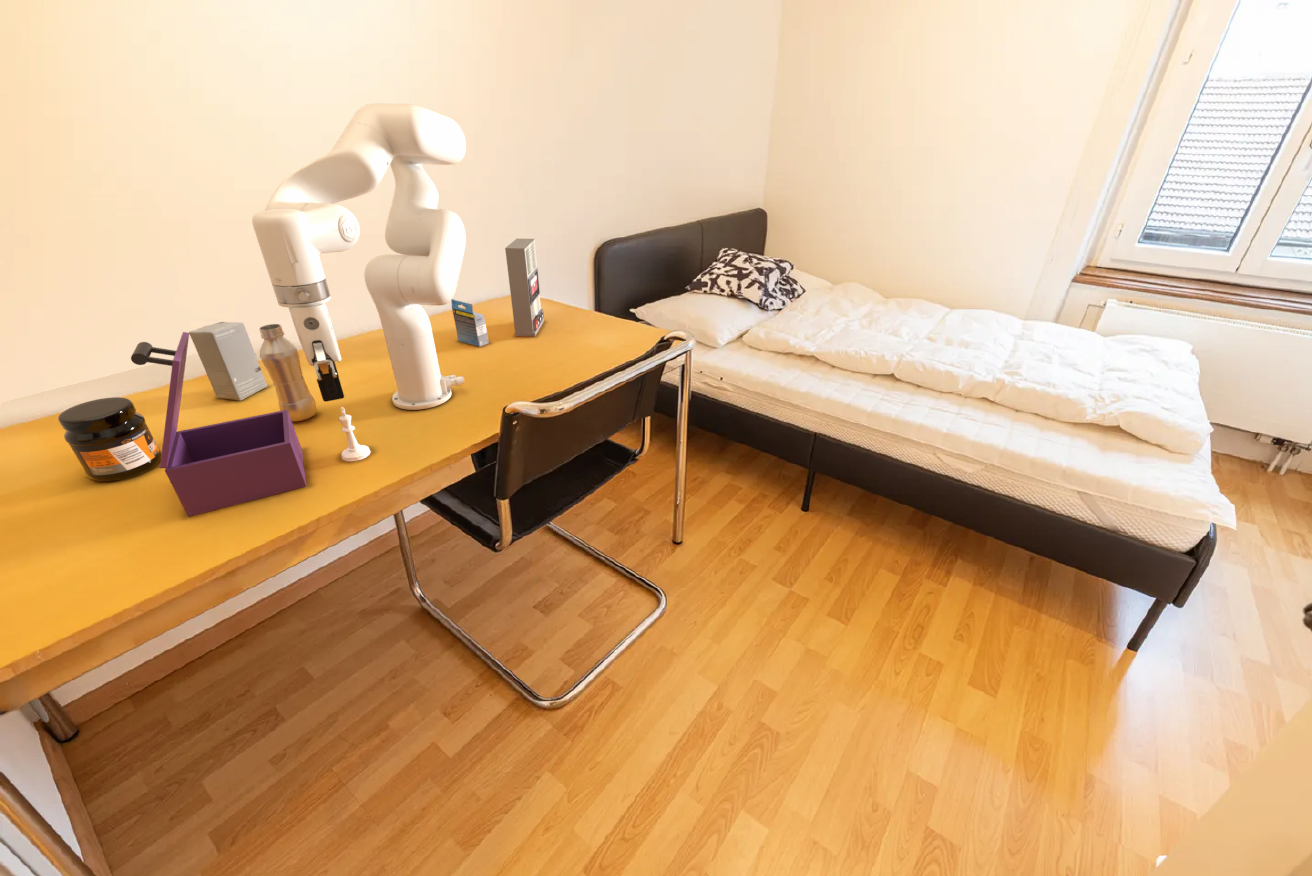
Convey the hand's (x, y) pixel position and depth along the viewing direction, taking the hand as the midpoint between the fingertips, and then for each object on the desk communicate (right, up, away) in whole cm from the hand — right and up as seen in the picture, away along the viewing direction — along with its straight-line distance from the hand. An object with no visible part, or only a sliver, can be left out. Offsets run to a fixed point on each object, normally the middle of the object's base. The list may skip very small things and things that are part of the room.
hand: (331, 389), depth 99 cm
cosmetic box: (-38, +2, +31) cm, 49 cm away
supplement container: (-39, -14, +3) cm, 41 cm away
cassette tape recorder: (+19, +24, +70) cm, 77 cm away
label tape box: (+5, +18, +60) cm, 63 cm away
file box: (-14, -16, 0) cm, 21 cm away
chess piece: (0, -12, +8) cm, 14 cm away
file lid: (-18, -2, -11) cm, 21 cm away
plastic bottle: (-18, -5, +20) cm, 27 cm away
